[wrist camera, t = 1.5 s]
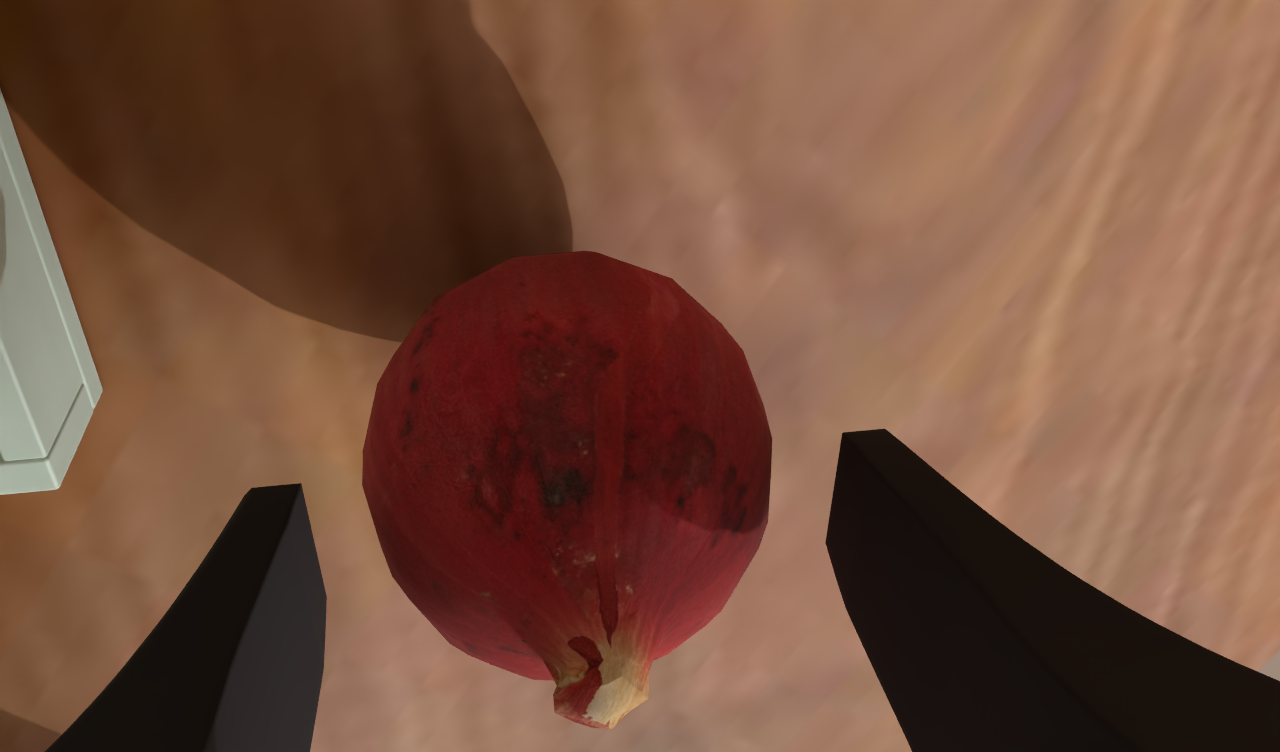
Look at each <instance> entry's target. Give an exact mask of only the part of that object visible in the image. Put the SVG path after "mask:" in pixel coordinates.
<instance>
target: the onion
mask: <svg viewBox="0 0 1280 752" xmlns="http://www.w3.org/2000/svg"><path fill="white" fill-rule="evenodd" d="M771 455H772V436H771V433H770V429H769V425H768V421H767V417H766V413H765V409H764V405H763V402H762V400H761V397H760V394H759V392H758V389H757V386H756V384H755V381H754V378H753V376H752V373H751V370H750V368H749V365H748V363H747V360H746V357H745V355H744V352H743V350H742V349H741V347H740V346H739V345H738V344H737V342H736V341H735V340H734V339H733V337H732V336H731V335H730V334H729V333H728V331H727V330H726V329H725V328H724V326H723V325H722V324H721V323H720V322H719V321H718V320H717V319H716V318H715V317H714V316H712V315H711V314H710V313H709V312H708V311H707V310H706V309H705V308H704V307H703V306H701V305H700V304H699V303H698V302H697V301H696V300H695V299H694V298H693V297H692V296H690V295H689V294H688V293H687V292H686V291H685V290H684V289H683V288H682V287H680V286H679V285H678V284H677V283H676V282H675V281H674V280H673V279H672V278H669V277H666V276H663V275H660V274H658V273H655V272H652V271H649V270H646V269H643V268H640V267H637V266H634V265H631V264H629V263H626V262H623V261H620V260H617V259H614V258H611V257H608V256H605V255H602V254H600V253H597V252H590V251H579V252H567V253H555V254H543V255H531V256H519V257H513V258H511V259H509V260H507V261H505V262H503V263H501V264H499V265H497V266H495V267H493V268H491V269H489V270H487V271H486V272H484V273H482V274H480V275H478V276H476V277H474V278H472V279H470V280H468V281H466V282H465V283H463V284H461V285H459V286H457V287H455V288H453V289H451V290H449V291H447V292H445V293H443V294H442V295H440V296H438V297H436V298H434V300H433V301H432V302H431V304H430V305H429V307H428V308H427V309H426V311H425V312H424V314H423V315H422V316H421V318H420V319H419V320H418V322H417V323H416V325H415V326H414V327H413V329H412V330H411V332H410V333H409V334H408V336H407V337H406V339H405V340H404V341H403V343H402V344H401V345H400V347H399V348H398V350H397V351H396V352H395V354H394V355H393V357H392V359H391V360H390V362H389V364H388V366H387V368H386V369H385V371H384V373H383V375H382V377H381V378H380V380H379V382H378V384H377V387H376V392H375V397H374V402H373V406H372V411H371V416H370V420H369V425H368V430H367V434H366V439H365V444H364V448H363V476H362V486H363V489H364V492H365V496H366V499H367V502H368V506H369V509H370V512H371V515H372V519H373V522H374V525H375V528H376V532H377V535H378V538H379V541H380V545H381V548H382V551H383V553H384V556H385V559H386V561H387V564H388V566H389V569H390V572H391V574H392V577H393V578H394V579H395V581H396V582H397V583H398V585H399V586H400V587H401V589H402V590H403V591H404V593H405V594H406V595H407V597H408V598H409V599H410V600H411V602H412V603H413V604H414V605H415V606H416V607H417V608H418V609H419V610H420V611H421V613H422V614H423V615H424V616H425V617H426V618H427V619H428V620H429V621H430V622H431V623H432V625H433V626H434V627H435V628H436V629H437V630H438V631H439V632H440V633H441V634H442V636H443V637H444V638H445V639H446V640H447V641H448V642H449V643H450V644H452V645H453V646H455V647H456V648H458V649H460V650H461V651H463V652H465V653H466V654H468V655H470V656H472V657H475V658H477V659H479V660H482V661H484V662H487V663H489V664H491V665H494V666H497V667H499V668H502V669H505V670H507V671H510V672H513V673H515V674H518V675H521V676H524V677H527V678H530V679H534V680H554V681H555V683H556V685H557V687H556V689H555V692H554V694H553V696H554V710H555V713H557V714H559V715H561V716H563V717H565V718H567V719H569V720H572V721H574V722H576V723H580V724H583V725H586V726H589V727H593V728H602V729H610V730H611V729H612V728H613V727H614V726H615V725H616V724H617V723H618V722H619V721H620V720H621V719H622V718H623V717H624V716H625V715H626V714H627V713H628V712H629V711H631V710H632V709H634V708H635V707H637V706H638V705H640V704H641V703H643V702H644V701H646V700H647V699H649V690H648V673H649V670H650V667H651V664H652V661H653V660H655V659H658V658H660V657H662V656H664V655H667V654H668V653H670V652H671V651H672V650H674V649H675V648H676V647H678V646H679V645H680V644H682V643H683V642H684V641H686V640H687V639H688V638H690V637H691V636H692V635H694V634H695V633H696V632H698V631H699V630H700V629H702V628H703V627H704V626H706V625H707V624H708V623H709V622H710V621H711V620H712V619H713V618H714V617H715V616H716V615H717V614H718V613H719V612H721V610H722V609H723V607H724V606H725V604H726V602H727V601H728V599H729V598H730V596H731V594H732V593H733V591H734V589H735V588H736V586H737V584H738V583H739V581H740V579H741V577H742V576H743V574H744V572H745V571H746V569H747V567H748V565H749V564H750V562H751V560H752V559H753V557H754V555H755V554H756V552H757V550H758V548H759V546H760V543H761V540H762V537H763V534H764V531H765V529H766V526H767V523H768V512H769V495H770V479H771Z"/></svg>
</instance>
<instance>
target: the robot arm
mask: <svg viewBox="0 0 1280 752" xmlns="http://www.w3.org/2000/svg"><path fill="white" fill-rule="evenodd" d="M826 546H827V549H828V553H829V556H830V559H831V563H832V566H833V569H834V573H835V576H836V579H837V582H838V586H839V589H840V592H841V595H842V598H843V601H844V604H845V607H846V609H847V612H848V614H849V616H850V618H851V621H852V623H853V625H854V627H855V629H856V632H857V634H858V636H859V638H860V640H861V642H862V645H863V647H864V649H865V651H866V653H867V656H868V658H869V660H870V662H871V664H872V666H873V668H874V670H875V673H876V675H877V677H878V679H879V681H880V683H881V685H882V688H883V690H884V692H885V694H886V696H887V698H888V700H889V702H890V705H891V707H892V709H893V711H894V713H895V715H896V717H897V720H898V722H899V724H900V726H901V728H902V730H903V732H904V734H905V737H906V739H907V741H908V743H909V745H910V748H911V750H912V752H1280V681H1278V680H1276V679H1273V678H1271V677H1269V676H1266V675H1264V674H1262V673H1259V672H1257V671H1255V670H1252V669H1250V668H1248V667H1245V666H1243V665H1241V664H1238V663H1236V662H1234V661H1232V660H1230V659H1227V658H1225V657H1223V656H1221V655H1219V654H1217V653H1215V652H1212V651H1210V650H1208V649H1206V648H1204V647H1202V646H1200V645H1198V644H1196V643H1194V642H1192V641H1190V640H1188V639H1186V638H1184V637H1182V636H1180V635H1178V634H1176V633H1174V632H1172V631H1170V630H1169V629H1167V628H1165V627H1163V626H1161V625H1159V624H1157V623H1155V622H1153V621H1151V620H1149V619H1148V618H1146V617H1144V616H1142V615H1140V614H1138V613H1137V612H1135V611H1133V610H1131V609H1129V608H1128V607H1126V606H1124V605H1123V604H1121V603H1119V602H1118V601H1116V600H1114V599H1113V598H1111V597H1109V596H1108V595H1106V594H1104V593H1103V592H1101V591H1099V590H1098V589H1096V588H1094V587H1093V586H1091V585H1090V584H1088V583H1086V582H1085V581H1083V580H1081V579H1080V578H1078V577H1077V576H1075V575H1074V574H1072V573H1071V572H1069V571H1067V570H1066V569H1064V568H1063V567H1061V566H1060V565H1058V564H1057V563H1056V562H1054V561H1053V560H1051V559H1050V558H1048V557H1047V556H1046V555H1044V554H1043V553H1041V552H1040V551H1039V550H1037V549H1036V548H1034V547H1033V546H1031V545H1030V544H1029V543H1027V542H1026V541H1024V540H1023V539H1022V538H1020V537H1019V536H1017V535H1016V534H1015V533H1013V532H1012V531H1011V530H1009V529H1008V528H1007V527H1005V526H1004V525H1003V524H1001V523H1000V522H999V521H998V520H996V519H995V518H994V517H992V516H991V515H990V514H988V513H987V512H986V511H985V510H983V509H982V508H981V507H980V506H978V505H977V504H976V503H975V502H973V501H972V500H971V499H970V498H968V497H967V496H966V495H965V494H963V493H962V492H961V491H960V490H958V489H957V488H956V487H955V486H954V485H952V484H951V483H950V482H949V481H948V480H946V479H945V478H944V477H943V476H942V475H940V474H939V473H938V472H937V471H935V470H934V469H933V468H932V467H931V466H929V465H928V464H927V463H926V462H925V461H924V460H922V459H921V458H920V457H919V456H918V455H916V454H915V453H914V452H913V451H912V450H910V449H909V448H908V447H907V446H906V445H904V444H903V443H902V442H901V441H900V440H898V439H897V438H896V437H895V436H893V435H892V434H891V433H890V432H888V431H887V430H886V429H877V430H867V431H856V432H845V433H842V439H841V445H840V452H839V458H838V465H837V471H836V478H835V484H834V491H833V498H832V504H831V511H830V517H829V524H828V530H827V537H826ZM326 599H327V597H326V592H325V588H324V583H323V579H322V574H321V570H320V565H319V561H318V556H317V552H316V548H315V543H314V539H313V534H312V530H311V525H310V521H309V516H308V512H307V507H306V503H305V499H304V494H303V490H302V485H301V483H300V484H289V485H278V486H268V487H257V488H251V489H250V490H249V491H248V493H247V494H246V495H245V496H244V497H243V499H242V500H241V502H240V504H239V505H238V507H237V509H236V510H235V512H234V513H233V515H232V517H231V518H230V520H229V521H228V523H227V525H226V526H225V528H224V529H223V531H222V533H221V534H220V536H219V537H218V539H217V540H216V542H215V543H214V545H213V546H212V548H211V549H210V551H209V552H208V554H207V555H206V557H205V558H204V560H203V561H202V563H201V564H200V566H199V567H198V569H197V570H196V572H195V573H194V575H193V576H192V577H191V579H190V580H189V582H188V583H187V584H186V586H185V587H184V589H183V590H182V591H181V593H180V594H179V596H178V597H177V598H176V600H175V601H174V603H173V604H172V605H171V607H170V608H169V610H168V611H167V612H166V614H165V615H164V616H163V618H162V619H161V620H160V622H159V623H158V624H157V625H156V627H155V628H154V629H153V630H152V632H151V633H150V634H149V635H148V637H147V638H146V639H145V640H144V642H143V643H142V644H141V646H140V647H139V648H138V649H137V651H136V652H135V653H134V654H133V656H132V657H131V658H130V659H129V661H128V662H127V663H126V664H125V666H124V667H123V668H122V669H121V670H120V672H119V673H118V674H117V675H116V676H115V677H114V679H113V680H112V681H111V682H110V683H109V684H108V685H107V687H106V688H105V689H104V690H103V691H102V692H101V693H100V695H99V696H98V697H97V698H96V699H95V700H94V701H93V702H92V704H91V705H90V706H89V707H88V708H87V709H86V710H85V711H84V712H83V713H82V714H81V715H80V716H79V717H78V718H77V720H76V721H75V722H74V723H73V724H72V725H71V726H70V727H69V728H68V729H67V730H66V731H65V732H64V733H63V734H62V735H61V736H60V737H59V738H58V739H57V740H56V741H55V742H54V743H53V744H52V745H51V746H50V747H49V748H48V749H47V750H46V751H45V752H310V748H311V742H312V736H313V730H314V724H315V718H316V712H317V706H318V700H319V694H320V688H321V682H322V675H323V669H324V650H325V628H326Z"/></svg>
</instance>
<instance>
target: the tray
mask: <svg viewBox="0 0 1280 752" xmlns="http://www.w3.org/2000/svg"><path fill="white" fill-rule="evenodd" d="M101 393H102V386H101V383H100V380H99V377H98V374H97V371H96V368H95V365H94V362H93V360H92V357H91V354H90V351H89V348H88V345H87V342H86V339H85V336H84V333H83V330H82V327H81V324H80V321H79V318H78V315H77V312H76V309H75V307H74V304H73V301H72V298H71V295H70V292H69V289H68V286H67V283H66V280H65V277H64V274H63V271H62V268H61V265H60V262H59V259H58V257H57V254H56V251H55V248H54V245H53V242H52V239H51V236H50V233H49V230H48V227H47V224H46V221H45V218H44V215H43V212H42V209H41V207H40V204H39V201H38V198H37V195H36V192H35V189H34V186H33V183H32V180H31V177H30V174H29V171H28V168H27V165H26V162H25V159H24V157H23V154H22V151H21V148H20V145H19V142H18V139H17V136H16V133H15V130H14V127H13V124H12V121H11V118H10V115H9V112H8V109H7V107H6V104H5V101H4V98H3V95H2V92H1V89H0V495H3V494H13V493H24V492H35V491H46V490H55V489H58V488H59V487H60V485H61V483H62V481H63V478H64V476H65V474H66V472H67V469H68V467H69V465H70V463H71V460H72V458H73V456H74V454H75V452H76V449H77V447H78V445H79V443H80V440H81V438H82V436H83V434H84V431H85V429H86V427H87V425H88V423H89V420H90V418H91V416H92V414H93V409H94V408H95V406H96V404H97V402H98V400H99V398H100V395H101Z"/></svg>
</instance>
